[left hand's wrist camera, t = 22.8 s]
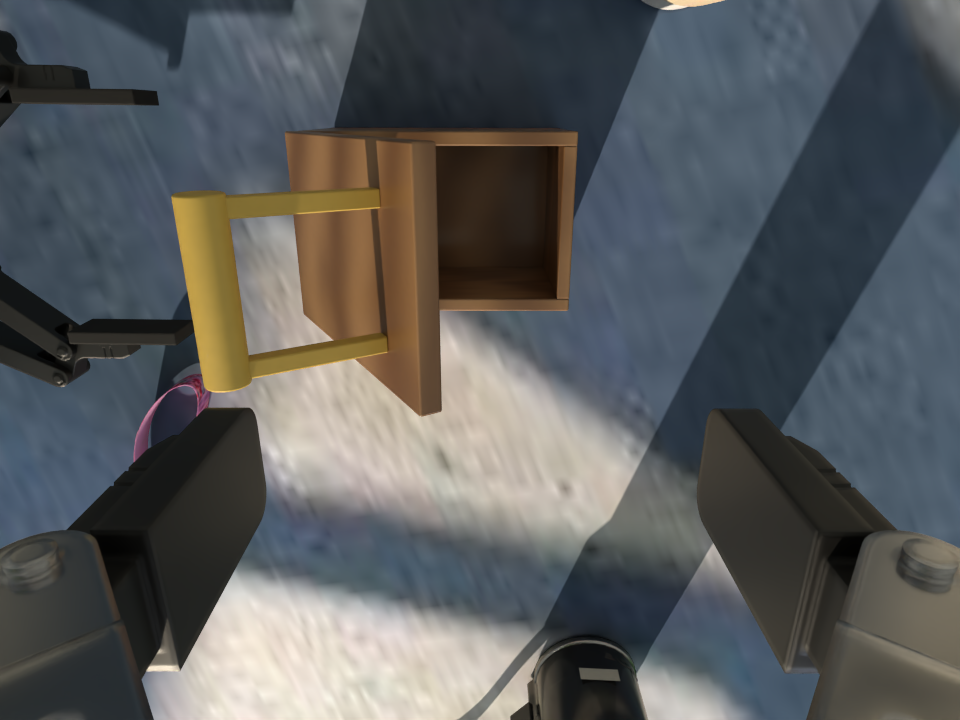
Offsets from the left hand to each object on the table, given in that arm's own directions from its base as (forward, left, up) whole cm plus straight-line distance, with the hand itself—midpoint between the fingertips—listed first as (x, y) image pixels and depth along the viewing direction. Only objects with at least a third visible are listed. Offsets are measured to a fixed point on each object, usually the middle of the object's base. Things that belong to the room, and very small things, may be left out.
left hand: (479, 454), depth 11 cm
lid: (-4, +4, -18) cm, 19 cm away
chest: (-2, +2, -34) cm, 34 cm away
